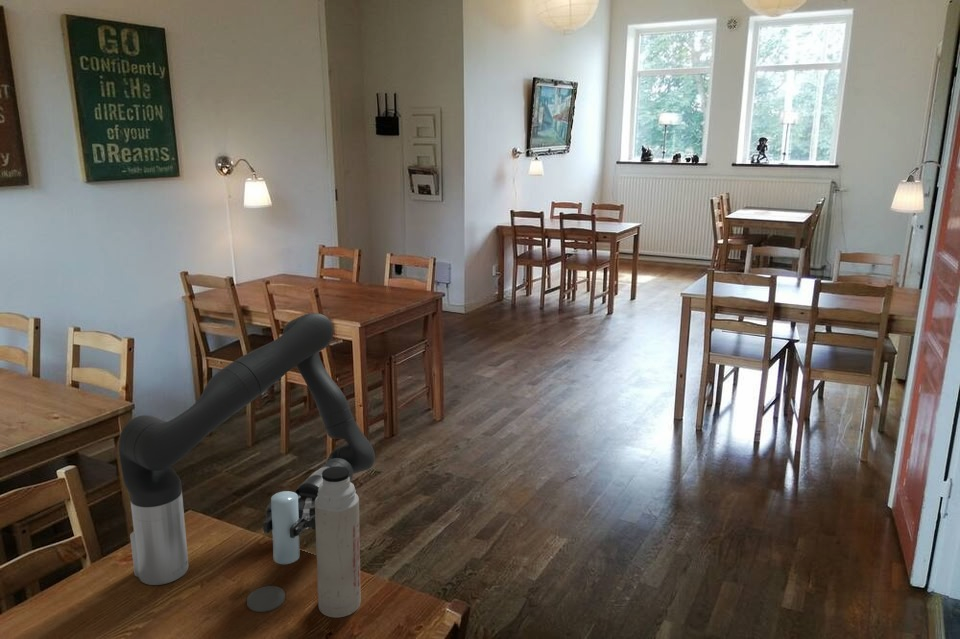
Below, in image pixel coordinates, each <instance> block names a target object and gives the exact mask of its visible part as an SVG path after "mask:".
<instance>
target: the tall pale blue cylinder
mask: <svg viewBox="0 0 960 639" xmlns="http://www.w3.org/2000/svg"><path fill="white" fill-rule="evenodd" d="M270 501H271V507H272V530H271V531H272V550H273V551H272V553H273V554H272V555H273V561H274V562H275V563H277V564H280V565H288V564H289V565H290V564H292V563H295V562H297V561H298V560H299V559H300V553H301V552H300V551H301V550H300V535H298V536H296V537H295V538H290V528H291V526H292V525H293V524H294V523H295V522H297V521H298V519H300V518H299V513H298V495H297V494H296V493H295V491H289V490H283V491H279V492H276V493H275V494H273V495H272V496H271V497H270Z"/></svg>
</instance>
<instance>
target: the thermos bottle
mask: <svg viewBox="0 0 960 639" xmlns="http://www.w3.org/2000/svg"><path fill="white" fill-rule="evenodd" d="M322 478H323V484H322V485H321V486H320V487H319V489H318V493H317V495H318V496H317V498H316V499H315V524H316V529H315V546H316V564H317V565H316V566H317V602H318V603H317V604H318V605H317V606H318V609H319V612H321V613H322V615H324V616H326V617H329V618H334V619H335V618H336V619H337V618H342V617H343V618H344V617H347V616H350V615H352V614H353V613H355V612H356V611H357V610H358V609H359V608H360V606H361V601H362V599H361V598H362V597H361V592H362V591H361V551H360V550H361V546H360V542H361V541H360V498H359V495H358V494H357V493H356V492H357V491H356V488H355V485H354V483H352V482H351V481H350V477H349V470H348V469H347V468H345V467H341V466H335V467H330V468H327V469H325V470H324V471H323V472H322Z"/></svg>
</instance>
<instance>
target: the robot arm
mask: <svg viewBox="0 0 960 639" xmlns="http://www.w3.org/2000/svg"><path fill="white" fill-rule="evenodd" d="M333 337H334V326H333V323H332V321H331V319H329V317H328V316H326V315H324V314H322V313H318V312H317V313H316V312H310V313H305V314H304V315H300V316H299V317H296V318H294V319H292V320H290V321H289V322H287V323H286V325H285V326H284V328H283V331H282V335H280V336H279V337H278V338H276V339H275V340H272V341H271V342H268V343H267V344H264V345H262V346H260V347H258V348H255V349H254V350H251V351H250V352H248V353H246V354H244V355H242V356H240V357H238V358H237V359H235V360H234V361H232V362H230V363H229V364H227V365H226V366H224V367H223V368H222V369H220V370H219V371H217V372H216V373H215V374H214V375H213V376H212V377H211V378H210V379H209V380H208V382H207V383H206V386H205V387H204V389H203V391H202V392H201V394H200V396H199V398H198V400H196V402H195V403H194V404H193V405H191V406H190V407H189V408H188V409H186V410H185V411H183V412H181V414H179V415H177V416H176V417H174V418H172V419H171V420H168V421H166V420H163V419H160V418H158V417H155V416H152V415H149V414H148V415H147V414H146V415H145V414H143V415H139V416H136V417H134V418H132V419H130V420H129V421H127V423H126V424H125V425H124V427H123V428H122V430H121V432H120V435H119V437H118V455H119V461H120V466H121V474H122V479H123V483H124V485H125V486H124V487H125V488H126V490H127V492H128V494H129V499H130V508H131V516H132V518H131V519H132V525H133V527H132V528H133V531H132V532H131V533H130V535H129V538H130V547H131V556H132V563H133V573H134V577H136V578H138V579H139V581H141V583H143V584H145V585H149V586H159V585H160V586H161V585H165V584H169V583H172V582H174V581H177V580H178V579H180V578H182V577H183V576H184V575H185V574H186V573H187V572H188V570H189V566H190V565H189V557H188V556H189V555H188V547H187V546H188V545H187V535H186V522H185V513H184V512H185V511H184V500H183V489H182V481H181V479H180V477H179V476H178V474H177V472H176V471H175V470H174V469H173V466H174V465H176V464H177V463H178V462H180V461H181V460H182V459H183V458H184V457H185V456H186V455H188V454H189V452H191V451H192V449H194V448H195V447H196V446H197V445H198V444H199V443H200V442H201V441H203V440H204V439H205V438H206V437H207V436H208V435H209V434H210V433H212V432H213V431H214V430H215V429H216V428H218V427H219V426H221V425H222V424H223V423H224V422H226V421H227V420H229V419H230V418H231V417H232V416H234V415H235V414H236V413H238V411H240V410H242V409H243V408H245V407H246V406H248V405H249V404H250V403H251V402H253V401H254V400H256V399H257V398H258V397H260V396H261V395H262V394H263V393H265V392H266V391H267V390H268V389H270V388H271V387H272V386H273V385H274V384H276V383H277V382H278V381H279V380H280V379H282V378H283V377H284V376H285V375H286V374H287V373H288V372H290V371H291V370H292V369H293V368H294V367H295V366H296V368H297V369H298V372H299V373H300V375H301V376H302V378H303V380H304V382H305V384H306V386H307V387H308V390H309V392H310V394H311V396H312V398H313V400H314V403H315V406H316V407H317V409H318V413H319V416H320V418H321V420H322V423H323V426H324V429H325V431H326V434H327V436H328V437H329V438H330V439H342V440H344V441H345V442H346V443H347V444H346V445H342V446H338V447H337V448H335V449H334V450H332V451H331V452H330V454H329V456H328V458H327V459H326V462H325V463H324V464H323V465H322V466H321V467H320V468H319V469H317V470H316V471H314V472H312V473H311V475H309V477H307V478H306V479H305V480H304V481H302V483H301V484H300V485H298V486H297V488H296V489H295V491H294V492H295V493H296V494H297V495H298V513H299V519H298V521H297V522H295V523H294V524H293V525H292V526H291V528H290V538H295V537H296V536H298V535H299V536H300V535H301V534H302V533H303V532H304V531H305V530H308V529H309V528H311V530H316V524H315V499H316V498H317V496H318V495H317V493H318V489H319V487H320V486H321V485H322V484H323V478H322V472H323V471H324V470H325V469H327V468H330V467H335V466H341V467H345V468H347V469H348V470H349V477H350V482H351V481H352V479H353V477H354V474H357V473H361V472H364V471H367V470H370V469H371V468H372V467H373V466H374V464H375V461H376V454H375V451H374V450H375V449H374V447H373V445H372V444H371V442H370V441H369V440H368V438H367V437H366V435H365V434H364V433H363V431H362V430H361V429H360V427H359V425H358V423H356V420H355V418H354V415H353V412H352V409H351V408H350V404H349V402H348V400H347V397H346V396H345V394H344V392H343V390H342V389H341V388H340V387H339V386H338V385H337V383H336V382H335V381H334V380H333V379H332V377H331V376H330V374H329V373H328V372H327V370H326V368H325V366H324V364H323V363H322V360H321V356H320V352H321V351H322V350H324V349H326V348H327V347H328V346H329V344H331V342H332V339H333ZM265 515H266V516H265V518H266V519H265V520H264V521H263V523H262V527H263V528H262V529H263V533H265V534H269V533H270V532H271V531H272V507H271V500H270V501H269V503H268V504H267V506H266V509H265Z"/></svg>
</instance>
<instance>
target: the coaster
mask: <svg viewBox="0 0 960 639" xmlns="http://www.w3.org/2000/svg"><path fill="white" fill-rule="evenodd" d="M285 594H286V593H285V591H284V590H283V588H281V587H279V586H275V585H266V586H261V587H258V588H256V589H254V590H252V591H251V593H249V595H248V596H247V598H246V607H247V608H248V609H249V610H251V611H253V612H256V613H268V612H271V611H273V610H276V609H278V608H279V607H280V606H282V605H283V603H284V602H285V600H286V599H285V598H286V595H285Z"/></svg>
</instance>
